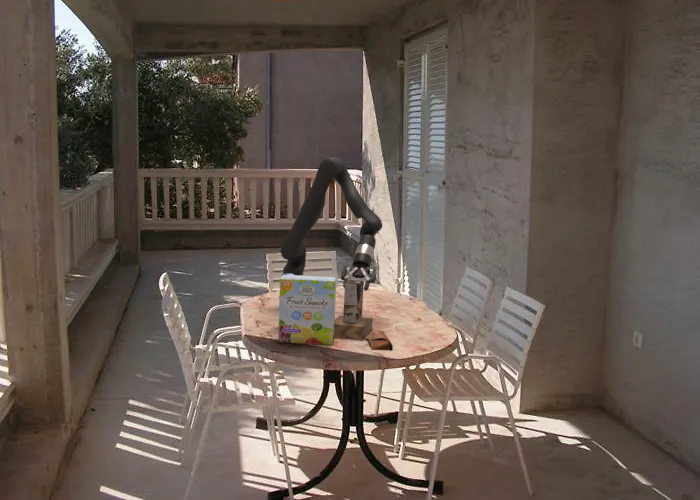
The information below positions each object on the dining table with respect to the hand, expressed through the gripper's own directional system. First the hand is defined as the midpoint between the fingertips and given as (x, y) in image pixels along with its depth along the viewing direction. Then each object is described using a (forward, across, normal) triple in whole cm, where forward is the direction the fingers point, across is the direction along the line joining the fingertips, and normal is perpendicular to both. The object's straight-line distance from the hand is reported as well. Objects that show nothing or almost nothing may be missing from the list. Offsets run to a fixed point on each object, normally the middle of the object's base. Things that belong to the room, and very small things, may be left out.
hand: (355, 288), depth 324 cm
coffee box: (+10, 0, +9) cm, 13 cm away
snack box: (+27, -14, -1) cm, 31 cm away
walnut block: (+14, -1, +13) cm, 19 cm away
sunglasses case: (+23, +14, +5) cm, 27 cm away
